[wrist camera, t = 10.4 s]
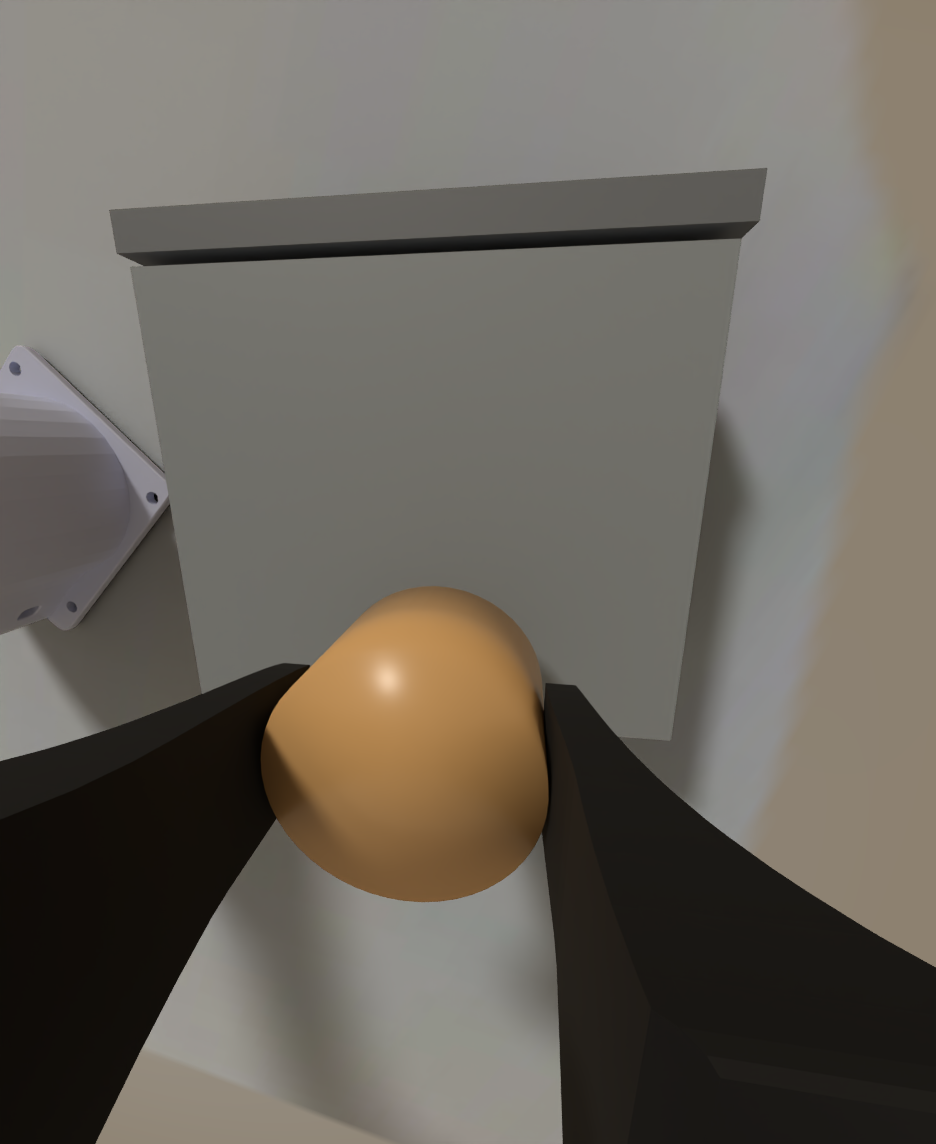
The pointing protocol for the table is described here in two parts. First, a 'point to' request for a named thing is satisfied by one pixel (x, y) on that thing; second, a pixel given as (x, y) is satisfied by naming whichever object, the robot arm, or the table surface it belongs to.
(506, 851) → the orange rounded block
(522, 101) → the table surface
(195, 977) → the table surface
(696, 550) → the lid
